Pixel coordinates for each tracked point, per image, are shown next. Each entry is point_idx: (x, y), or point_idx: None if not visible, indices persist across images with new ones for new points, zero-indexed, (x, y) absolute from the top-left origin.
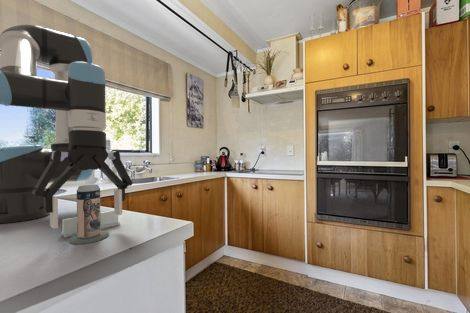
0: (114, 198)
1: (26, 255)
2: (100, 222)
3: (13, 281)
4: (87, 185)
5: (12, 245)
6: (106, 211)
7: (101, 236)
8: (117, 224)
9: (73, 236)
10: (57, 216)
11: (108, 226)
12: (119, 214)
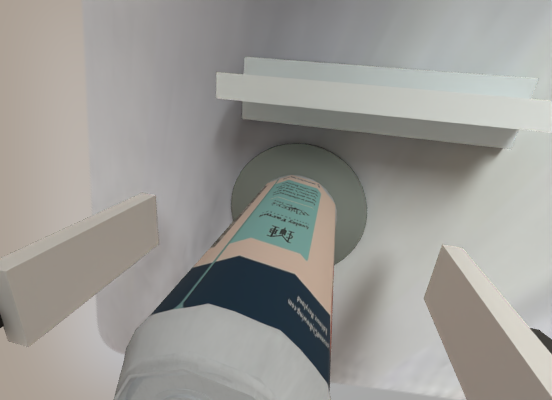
0: (490, 320)
1: (129, 194)
2: (334, 248)
3: (106, 312)
4: (225, 379)
5: (102, 34)
6: (498, 101)
7: None
8: (490, 146)
9: (259, 159)
10: (123, 271)
11: (436, 140)
12: (426, 301)
